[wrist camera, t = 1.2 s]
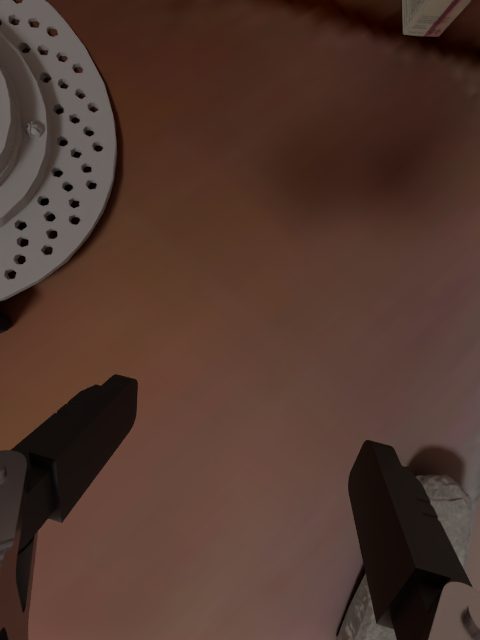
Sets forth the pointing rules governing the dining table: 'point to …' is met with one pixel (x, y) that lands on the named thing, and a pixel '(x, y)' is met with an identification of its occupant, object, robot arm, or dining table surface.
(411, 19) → the small box
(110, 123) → the brake disc
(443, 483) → the stone
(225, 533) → the dining table surface
